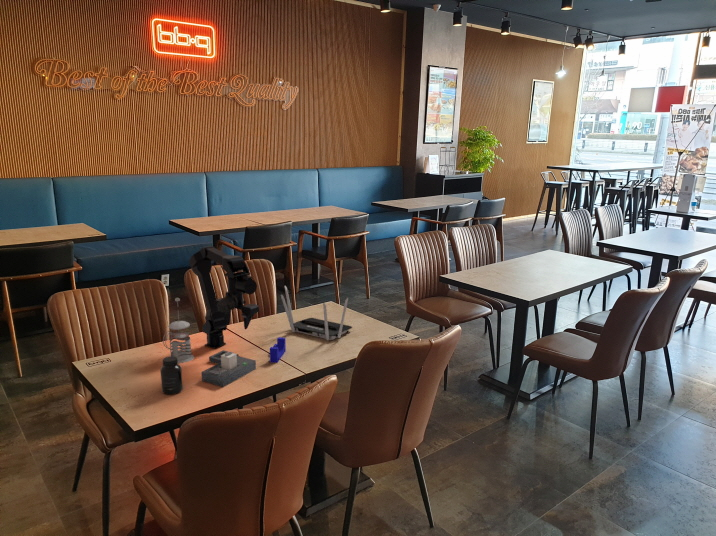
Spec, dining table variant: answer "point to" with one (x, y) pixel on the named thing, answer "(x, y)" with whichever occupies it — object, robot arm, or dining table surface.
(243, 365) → the port panel
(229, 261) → the robot arm
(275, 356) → the cable clip
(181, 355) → the french press
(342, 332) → the wireless router
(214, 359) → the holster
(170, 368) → the supplement bottle
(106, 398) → the dining table surface
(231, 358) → the plug
